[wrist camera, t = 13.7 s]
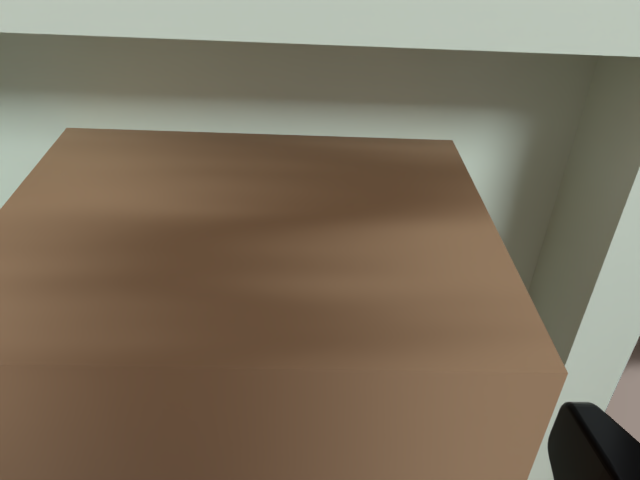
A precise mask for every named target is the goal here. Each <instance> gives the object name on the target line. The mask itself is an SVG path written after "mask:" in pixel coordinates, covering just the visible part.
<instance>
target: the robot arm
mask: <svg viewBox="0 0 640 480" xmlns="http://www.w3.org/2000/svg"><path fill="white" fill-rule="evenodd" d="M547 448H548V456H549V460H550V465H551V469H552V473H553V478H554V480H640V443H639V442H638V441H637V440H636V439H635V438H633V437H632V436H631V435H630V434H629V433H628V432H627V431H625V430H624V429H623V428H622V427H621V426H620V425H619V424H617V423H616V422H615V421H614V420H613V419H612V418H611V417H610V416H608V415H607V414H606V413H605V412H604V411H603V410H602V409H601V408H599V407H598V406H597V405H595V404H593V403H591V402H565V403H564V404H563V405H561V407H560V409H559V412H558V414H557V417H556V419H555V422H554V424H553V427H552V430H551V432H550V435H549V438H548V447H547Z"/></svg>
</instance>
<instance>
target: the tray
mask: <svg viewBox="0 0 640 480" xmlns="http://www.w3.org/2000/svg"><path fill="white" fill-rule="evenodd" d="M66 128H91V129H122V130H153V131H184V132H215V133H246V134H277V135H308V136H339V137H370V138H401V139H432V140H453V142H454V144H455V146H456V148H457V150H458V152H459V154H460V156H461V158H462V160H463V162H464V164H465V166H466V168H467V170H468V172H469V174H470V176H471V179H472V181H473V183H474V185H475V187H476V189H477V191H478V193H479V195H480V197H481V199H482V201H483V203H484V205H485V207H486V209H487V211H488V213H489V215H490V217H491V219H492V221H493V223H494V225H495V227H496V229H497V231H498V233H499V235H500V237H501V239H502V241H503V243H504V245H505V247H506V249H507V251H508V253H509V255H510V257H511V259H512V261H513V263H514V265H515V267H516V269H517V271H518V273H519V275H520V277H521V279H522V281H523V283H524V285H525V287H526V289H527V291H528V293H529V295H530V297H531V299H532V301H533V303H534V305H535V308H536V310H537V312H538V314H539V316H540V318H541V320H542V322H543V324H544V326H545V328H546V330H547V332H548V334H549V336H550V338H551V340H552V342H553V344H554V346H555V348H556V350H557V352H558V354H559V356H560V358H561V360H562V362H563V364H564V366H565V368H566V370H567V372H568V375H567V378H566V380H565V383H564V385H563V388H562V391H561V393H560V396H559V398H558V401H557V404H556V406H555V409H554V411H553V414H552V417H551V419H550V422H549V424H548V427H547V430H546V432H545V435H544V437H543V440H542V443H541V445H540V448H539V450H538V453H537V456H536V458H535V461H534V464H533V466H532V469H531V471H530V474H529V477H528V479H527V480H554V478H553V473H552V469H551V465H550V460H549V456H548V448H547V447H548V438H549V435H550V432H551V430H552V427H553V424H554V422H555V419H556V417H557V414H558V412H559V409H560V407H561V405H563V404H564V403H565V402H591V403H593V404H595V405H597V406H598V407H599V408H601V409H602V410H603V411H604V412H605V411H606V409H607V407H608V404H609V402H610V400H611V397H612V396H613V393H614V391H615V389H616V387H617V384H618V382H619V380H620V378H621V376H622V373H623V371H624V369H625V367H626V365H627V362H628V360H629V358H630V356H631V354H632V351H633V349H634V347H635V345H636V343H637V340H638V338H639V336H640V0H0V209H1V208H2V206H3V205H4V204H5V203H6V202H7V200H8V199H9V198H10V197H11V195H12V194H13V193H14V192H15V190H16V189H17V188H18V187H19V186H20V184H21V183H22V182H23V181H24V179H25V178H26V177H27V176H28V175H29V173H30V172H31V171H32V170H33V168H34V167H35V166H36V165H37V163H38V162H39V161H40V160H41V159H42V157H43V156H44V155H45V154H46V152H47V151H48V150H49V149H50V148H51V146H52V145H53V144H54V143H55V141H56V140H57V139H58V138H59V137H60V135H61V134H62V133H63V132H64V130H65V129H66Z"/></svg>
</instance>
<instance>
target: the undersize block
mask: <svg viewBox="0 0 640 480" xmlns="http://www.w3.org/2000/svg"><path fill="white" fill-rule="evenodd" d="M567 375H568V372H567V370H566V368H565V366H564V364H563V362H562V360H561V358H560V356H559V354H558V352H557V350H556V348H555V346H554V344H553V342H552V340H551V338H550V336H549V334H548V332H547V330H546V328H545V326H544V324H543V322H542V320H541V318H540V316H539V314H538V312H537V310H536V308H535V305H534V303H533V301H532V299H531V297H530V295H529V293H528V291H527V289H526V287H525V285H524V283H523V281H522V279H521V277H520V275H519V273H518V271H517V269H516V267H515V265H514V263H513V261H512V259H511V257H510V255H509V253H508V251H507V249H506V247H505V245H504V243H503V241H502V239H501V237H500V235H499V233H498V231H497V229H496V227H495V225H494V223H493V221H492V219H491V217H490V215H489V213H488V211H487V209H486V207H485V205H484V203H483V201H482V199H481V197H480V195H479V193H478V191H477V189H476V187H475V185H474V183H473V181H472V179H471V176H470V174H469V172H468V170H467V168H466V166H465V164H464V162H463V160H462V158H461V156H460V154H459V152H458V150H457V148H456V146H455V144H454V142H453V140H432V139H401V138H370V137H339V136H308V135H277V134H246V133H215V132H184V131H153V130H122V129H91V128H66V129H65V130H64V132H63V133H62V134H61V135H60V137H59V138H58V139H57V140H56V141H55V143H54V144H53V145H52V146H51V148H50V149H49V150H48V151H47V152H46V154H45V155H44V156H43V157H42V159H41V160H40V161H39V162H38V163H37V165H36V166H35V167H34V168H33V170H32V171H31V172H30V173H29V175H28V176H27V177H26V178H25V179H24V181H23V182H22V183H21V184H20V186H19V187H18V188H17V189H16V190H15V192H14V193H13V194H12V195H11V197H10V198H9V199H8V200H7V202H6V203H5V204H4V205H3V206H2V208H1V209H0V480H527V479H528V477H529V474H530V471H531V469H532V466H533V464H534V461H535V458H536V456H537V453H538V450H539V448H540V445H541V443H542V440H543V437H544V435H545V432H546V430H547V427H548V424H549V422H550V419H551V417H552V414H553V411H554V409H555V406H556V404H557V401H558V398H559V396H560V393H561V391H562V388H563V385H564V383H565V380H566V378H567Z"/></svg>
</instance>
